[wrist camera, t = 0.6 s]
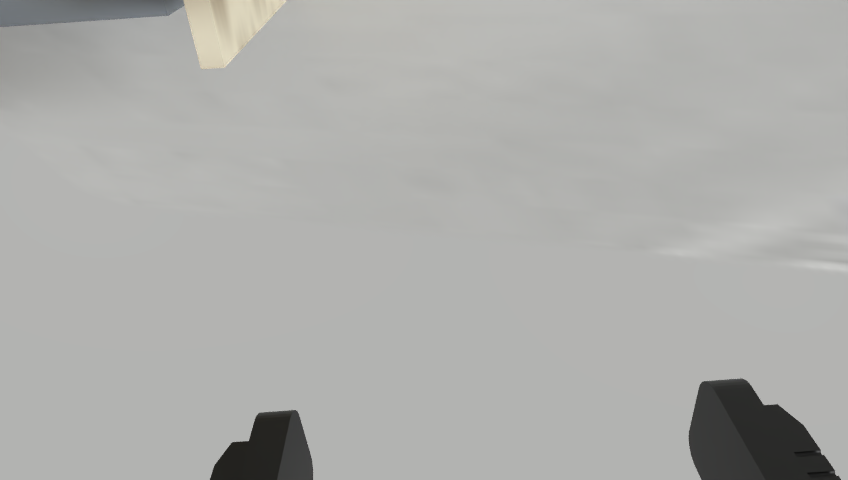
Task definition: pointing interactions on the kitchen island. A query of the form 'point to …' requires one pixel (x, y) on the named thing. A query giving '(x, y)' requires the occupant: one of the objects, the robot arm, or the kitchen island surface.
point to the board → (81, 10)
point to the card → (226, 26)
